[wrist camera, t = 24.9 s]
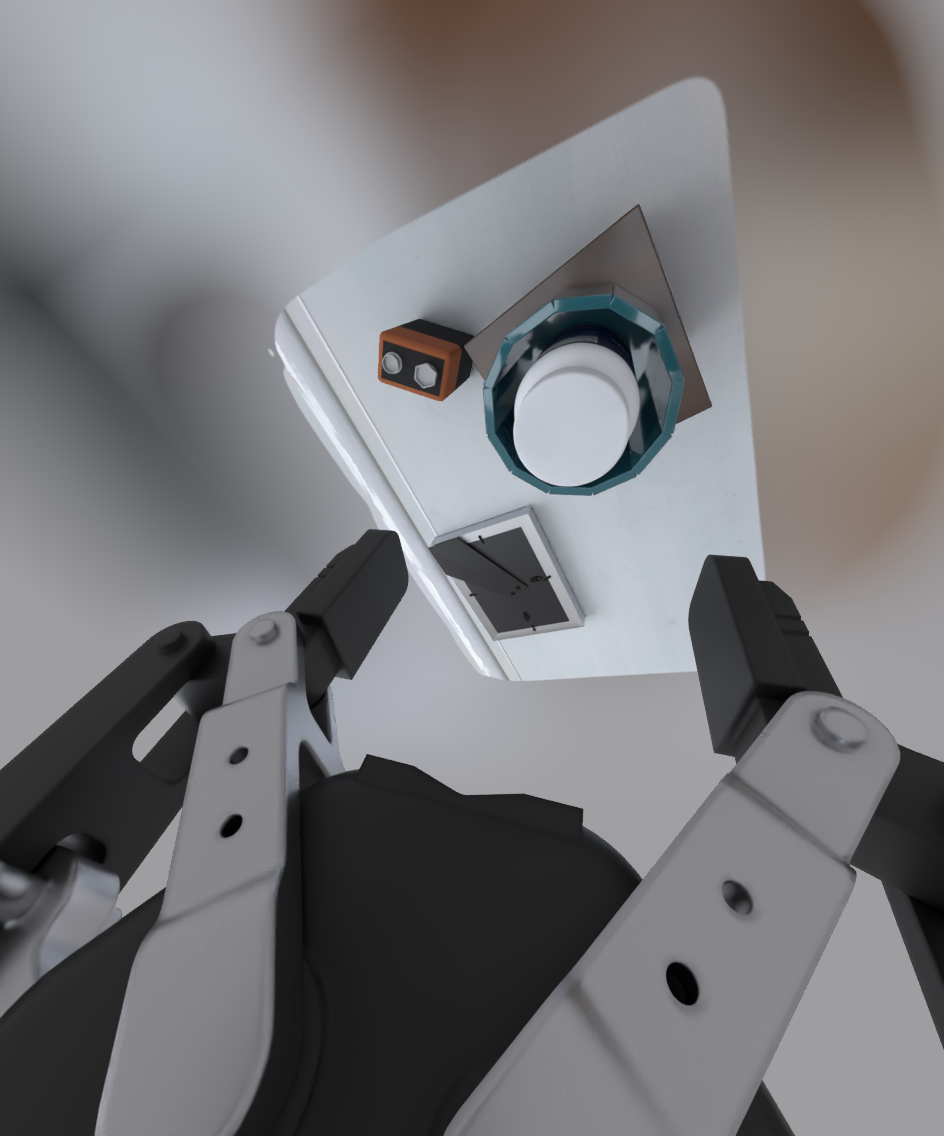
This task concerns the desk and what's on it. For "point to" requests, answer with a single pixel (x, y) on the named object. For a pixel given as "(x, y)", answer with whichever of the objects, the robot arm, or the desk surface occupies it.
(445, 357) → the battery
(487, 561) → the picture frame
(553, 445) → the pill bottle
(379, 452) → the desk surface
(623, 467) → the cup
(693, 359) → the stand
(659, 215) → the desk surface
